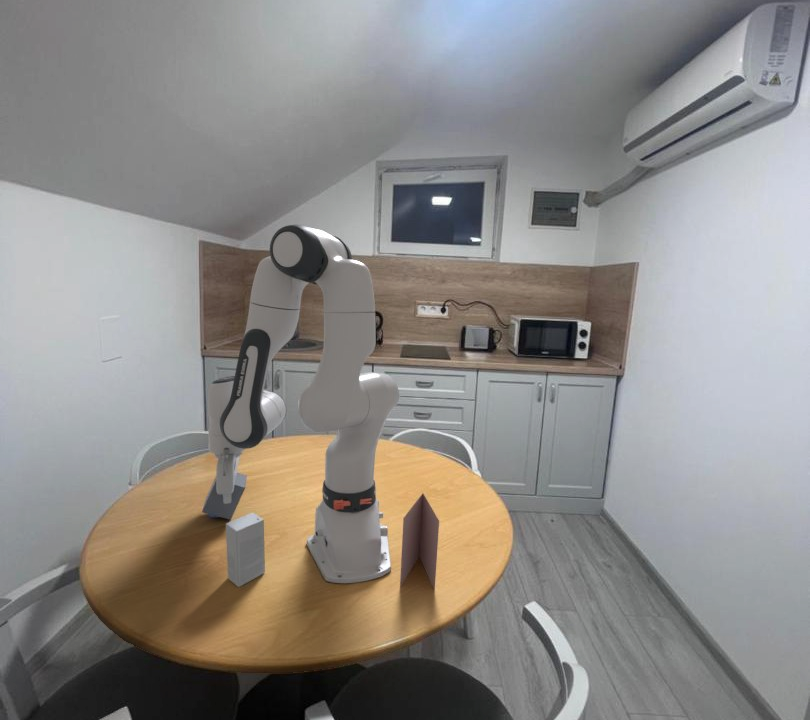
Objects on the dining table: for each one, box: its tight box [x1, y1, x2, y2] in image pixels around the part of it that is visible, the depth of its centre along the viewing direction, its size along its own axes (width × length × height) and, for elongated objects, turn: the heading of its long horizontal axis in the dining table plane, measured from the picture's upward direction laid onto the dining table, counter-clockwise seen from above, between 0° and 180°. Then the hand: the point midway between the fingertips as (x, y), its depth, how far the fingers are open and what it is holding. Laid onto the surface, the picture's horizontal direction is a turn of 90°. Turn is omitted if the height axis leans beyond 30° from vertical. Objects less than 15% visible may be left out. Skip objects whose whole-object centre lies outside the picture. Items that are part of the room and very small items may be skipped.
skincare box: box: [225, 512, 266, 588], centre depth 86 cm, size 6×4×12 cm
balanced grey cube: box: [201, 472, 248, 521], centre depth 108 cm, size 7×7×9 cm
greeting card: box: [399, 492, 440, 591], centre depth 89 cm, size 11×7×15 cm, turn 159°
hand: (229, 493), depth 108 cm, fingers closed on balanced grey cube, 7 cm apart
